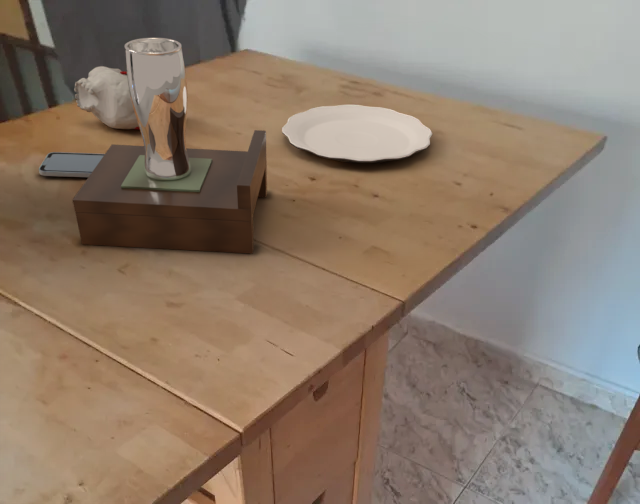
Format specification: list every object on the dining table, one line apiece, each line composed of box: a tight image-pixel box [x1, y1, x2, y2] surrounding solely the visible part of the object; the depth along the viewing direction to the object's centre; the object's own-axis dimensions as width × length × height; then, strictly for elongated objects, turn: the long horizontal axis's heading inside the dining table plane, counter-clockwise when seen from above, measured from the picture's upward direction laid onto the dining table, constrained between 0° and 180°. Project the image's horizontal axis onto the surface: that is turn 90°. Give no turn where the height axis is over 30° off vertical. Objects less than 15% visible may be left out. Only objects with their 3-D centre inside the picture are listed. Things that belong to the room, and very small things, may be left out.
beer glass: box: [124, 37, 191, 181], centre depth 85 cm, size 7×7×15 cm
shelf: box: [72, 129, 268, 254], centre depth 91 cm, size 22×18×9 cm
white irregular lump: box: [73, 65, 140, 131], centre depth 116 cm, size 9×11×15 cm
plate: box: [281, 104, 433, 164], centre depth 116 cm, size 25×25×2 cm
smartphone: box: [38, 151, 105, 178], centre depth 105 cm, size 7×1×15 cm
